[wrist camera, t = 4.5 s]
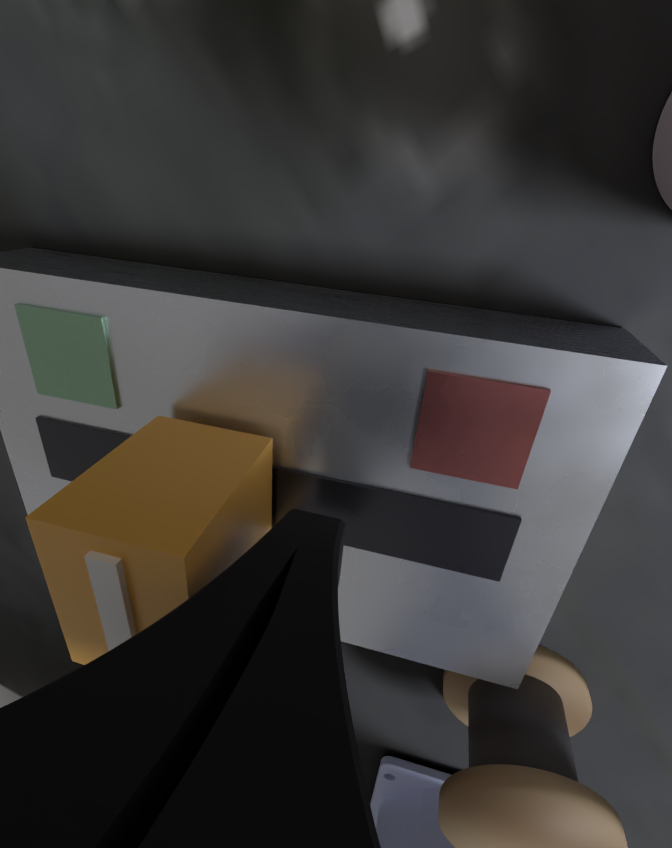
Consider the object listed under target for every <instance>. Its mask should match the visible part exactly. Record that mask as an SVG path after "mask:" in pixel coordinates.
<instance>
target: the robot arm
mask: <svg viewBox="0 0 672 848" xmlns="http://www.w3.org/2000/svg"><path fill="white" fill-rule="evenodd" d="M345 529H346V524H345V523H344V521H343V520H342V519H338V518H334V517H329V516H325V515H321V514H316V513H312V512H307V511H303V510H298V509H294V508H293V509H292V510H290V511H288V512H287V513H286V514H285V516H284V517H283V518H282V519H281V520H280V521H279V522H278V523H277V524H276V525H275V526H273V527H272V528H271V529H270V530H269V531H268V532H267V533H266V534H265V535H264V536H263V537H262V538H261V539H260V540H259V541H258V542H257V543H256V544H254V545H253V546H252V547H251V548H250V549H249V550H248V551H247V552H245V553H244V554H243V555H242V556H241V557H240V558H239V559H237V560H236V561H235V562H234V563H233V564H232V565H231V566H229V567H228V568H227V569H226V570H225V571H223V572H222V573H221V574H220V575H218V576H217V577H216V578H215V579H213V580H212V581H211V582H210V583H208V584H207V585H206V586H204V587H203V588H202V589H201V590H199V591H198V592H197V593H196V594H194V595H193V596H192V597H190V598H189V599H188V600H186V601H185V602H183V603H182V604H181V605H179V606H178V607H177V608H175V609H174V610H172V611H171V612H169V613H168V614H167V615H165V616H164V617H162V618H161V619H159V620H158V621H156V622H155V623H153V624H152V625H150V626H149V627H147V628H146V629H144V630H142V631H141V632H139V633H138V634H136V635H134V636H133V637H131V638H129V639H128V640H126V641H125V642H123V643H121V644H120V645H118V646H117V647H115V648H113V649H112V650H110V651H108V652H107V653H105V654H103V655H101V656H100V657H98V658H96V659H94V660H93V661H91V662H89V663H87V664H86V665H84V666H82V667H80V668H78V669H76V670H74V671H72V672H70V673H69V674H67V675H65V676H63V677H61V678H59V679H57V680H55V681H53V682H51V683H49V684H48V685H46V686H44V687H42V688H40V689H38V690H36V691H34V692H32V693H30V694H29V695H27V696H24V697H22V698H20V699H18V700H17V701H14V702H12V703H10V704H8V705H6V706H4V707H2V708H0V848H456V847H454V846H453V845H452V844H451V843H450V842H449V841H448V840H447V838H446V837H445V836H444V834H443V832H442V831H441V829H440V826H439V821H438V813H439V792H440V788H441V786H442V784H443V783H444V781H445V780H446V779H447V778H448V777H450V776H451V774H448V773H445V772H441V771H438V770H435V769H432V768H429V767H425V766H422V765H419V764H416V763H412V762H409V761H406V760H403V759H400V758H396V757H393V756H385V757H383V758H382V759H381V762H380V766H379V770H378V774H377V778H376V782H375V786H374V790H373V795H372V799H371V803H370V802H369V798H368V794H367V790H366V786H365V781H364V776H363V772H362V767H361V762H360V757H359V752H358V747H357V743H356V738H355V733H354V728H353V723H352V718H351V712H350V706H349V700H348V694H347V687H346V680H345V673H344V666H343V658H342V649H341V639H340V626H339V612H338V585H339V581H340V572H341V564H342V555H343V547H344V538H345Z"/></svg>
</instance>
